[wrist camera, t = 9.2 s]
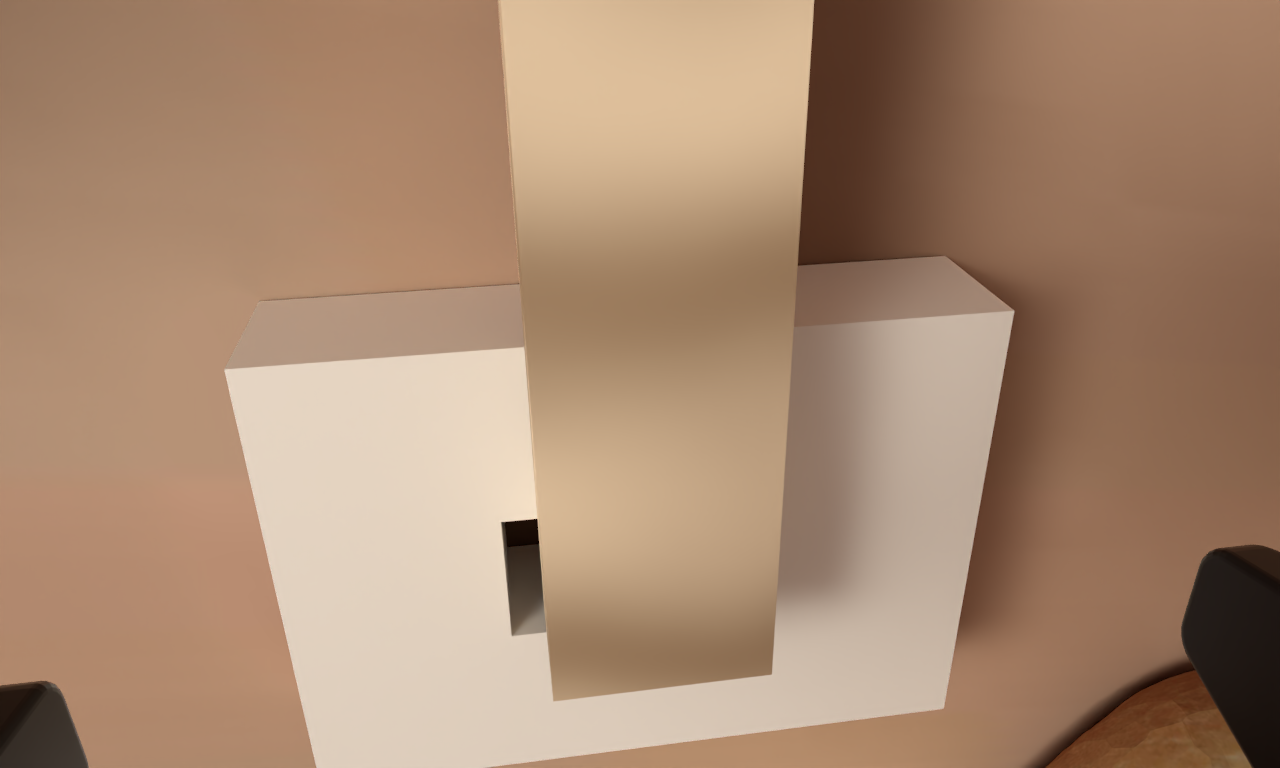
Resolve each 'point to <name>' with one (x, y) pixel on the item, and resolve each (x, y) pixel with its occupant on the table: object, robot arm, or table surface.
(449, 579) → the white slotted block
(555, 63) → the tan elongated block
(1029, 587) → the table surface
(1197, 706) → the bread roll
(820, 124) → the table surface
